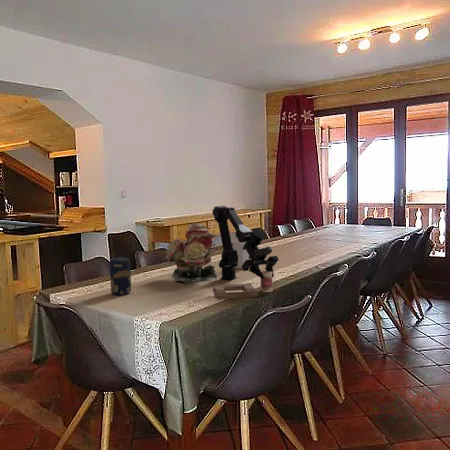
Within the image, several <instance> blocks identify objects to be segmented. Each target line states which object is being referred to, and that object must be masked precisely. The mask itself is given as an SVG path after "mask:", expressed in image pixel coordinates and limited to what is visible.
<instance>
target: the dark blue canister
mask: <svg viewBox="0 0 450 450" xmlns="http://www.w3.org/2000/svg"><path fill="white" fill-rule="evenodd" d="M130 261H131V260H130V258H128V257H122V256H118V257H113V258H110V259H109V262H108V264H109V278H110V279H109V280H110V292H111V294H112V295H116V296H117V295H118V296H122V295H127V294H129V293H131V292H132V275H131V262H130Z"/></svg>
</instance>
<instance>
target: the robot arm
mask: <svg viewBox="0 0 450 450" xmlns="http://www.w3.org/2000/svg"><path fill="white" fill-rule="evenodd" d="M212 215H213V219H214V220H215V221H216V222H217V224H218V228H219V229H218V230H219V235H220V239H221V244H222V252H221V259H220V261H219V262H218V267H219V268H220V269H221V277H220V280H228V281H231V280H233V279H237V276H236V268H235V267H237V264H238V254H237V250H234V249H233V243H232V238H231V234H230V228H229V223H228V220H229V222H230V223H231V225H232V226H233V228H234V230H235V237H236V236H237V239H238V241H239V242H246V243H245V244H244V246H243V250H247V252H248V254H249V257H248V258H249V259H250V260H245V262H244V263H243V265H242V269H241V270H242V271H243V272H250V273H252V274H254V275H255V276H258V277H259V278H260V280H261V279H264V277H263V274H262V272H261V271H262V270H261V269H260V266H262V265H264V266H265V267H264V269H265V271H271V272H272V278H274V276H275V274H274V267H275V266H276V264H277V263H278V261H279V258H278V255H272V256H271V253H273V250H272V249H273V248H272V247H271V246H270V245H268V246H266V247H262V248H259V246H260V245H261V243H262V242H263V240H264V239H265V238H266V233H265V232H264V231H263V230H262V229H259V228H258V227H254V228H253V230H251V228H250V227H248V226H246V225H245V224H244V223H243V221H242V220H241V218H240V216H239V215H238V214H237V212H236V208H235V207H233V206H226V205H220V206H214V207H213V209H212ZM269 255H270V256H269ZM267 256H269V257H267Z"/></svg>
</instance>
